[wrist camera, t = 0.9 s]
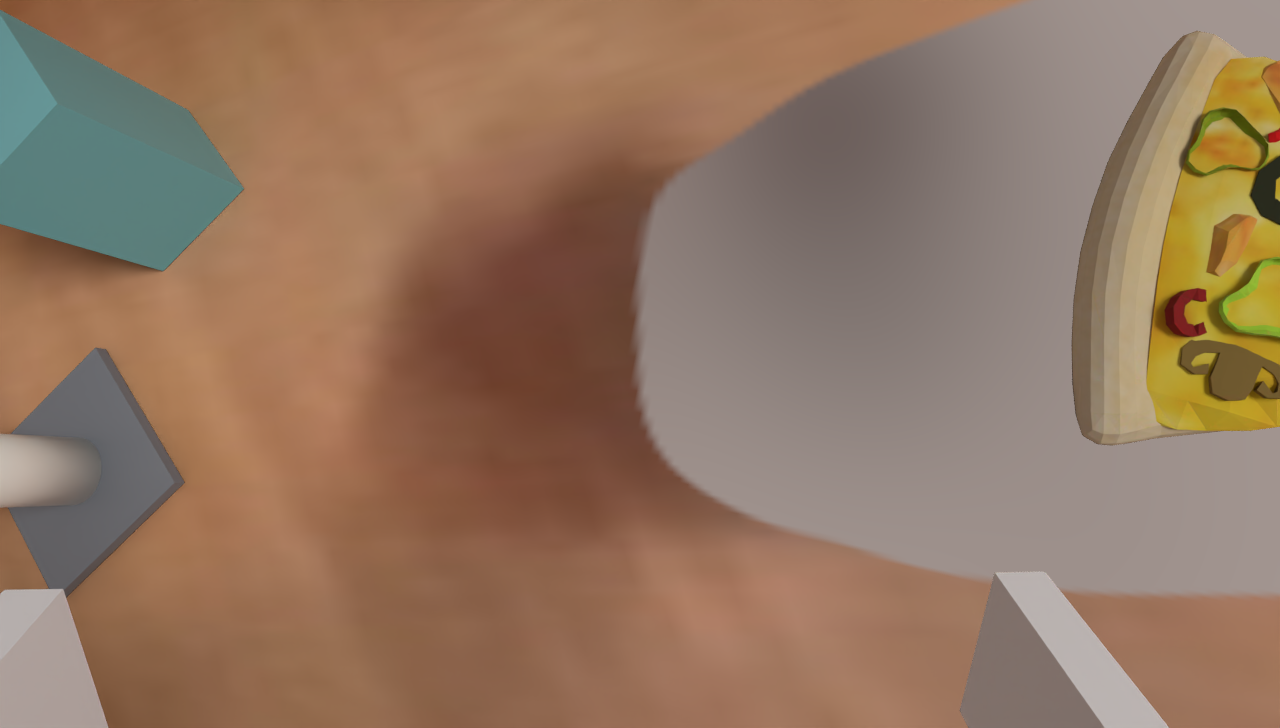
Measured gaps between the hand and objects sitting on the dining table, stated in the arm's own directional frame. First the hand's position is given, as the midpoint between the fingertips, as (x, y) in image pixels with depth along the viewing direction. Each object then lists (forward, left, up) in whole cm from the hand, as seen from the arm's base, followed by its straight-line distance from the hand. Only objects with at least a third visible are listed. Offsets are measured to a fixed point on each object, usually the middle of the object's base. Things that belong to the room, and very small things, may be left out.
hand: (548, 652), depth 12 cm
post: (0, -35, -21) cm, 41 cm away
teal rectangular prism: (-15, -32, -21) cm, 41 cm away
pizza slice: (-11, +22, -22) cm, 33 cm away
